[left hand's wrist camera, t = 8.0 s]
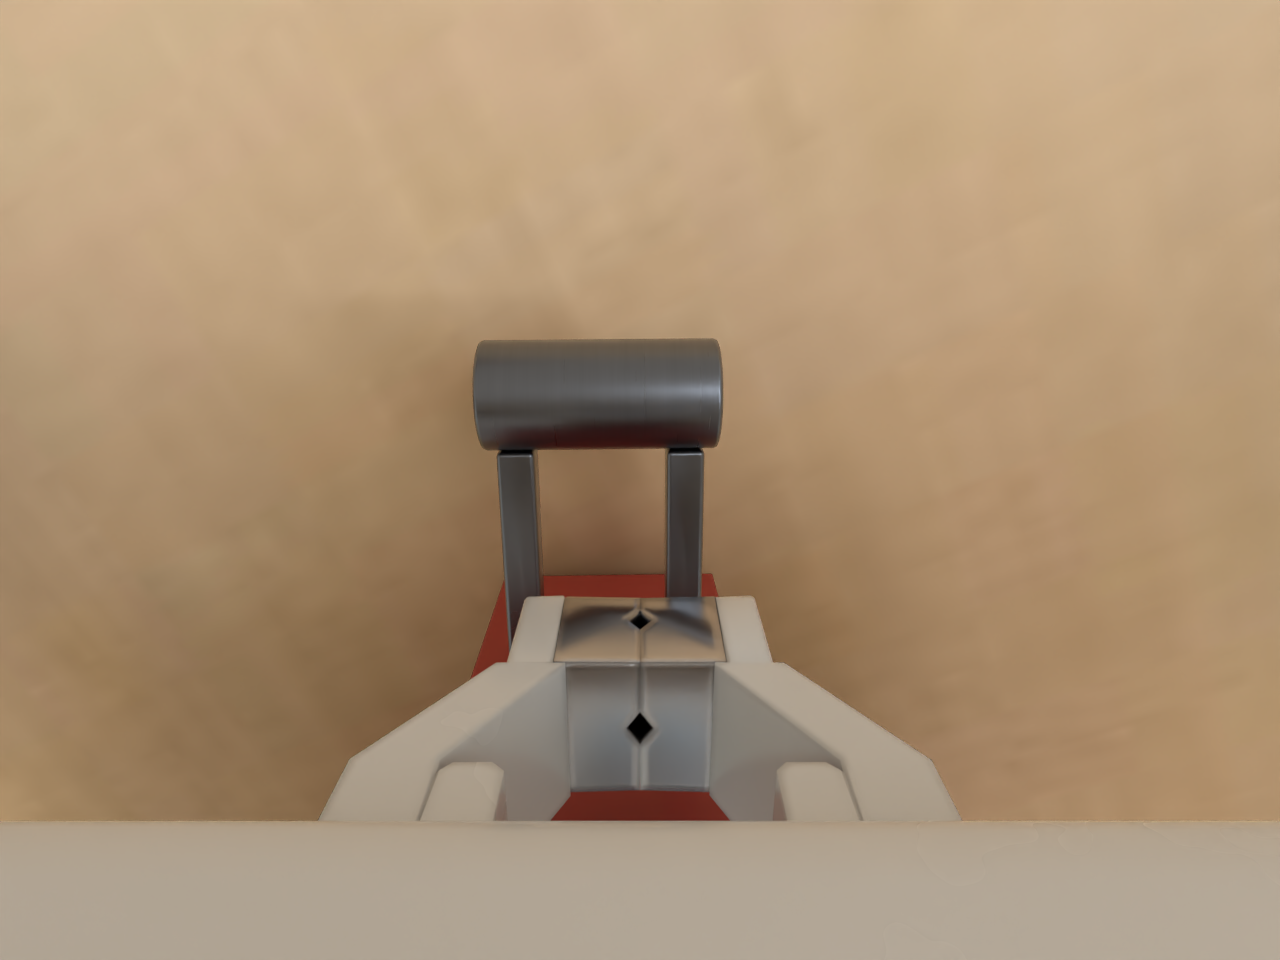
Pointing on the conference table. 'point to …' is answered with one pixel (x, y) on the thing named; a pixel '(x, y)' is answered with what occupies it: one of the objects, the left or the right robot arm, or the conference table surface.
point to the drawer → (599, 419)
